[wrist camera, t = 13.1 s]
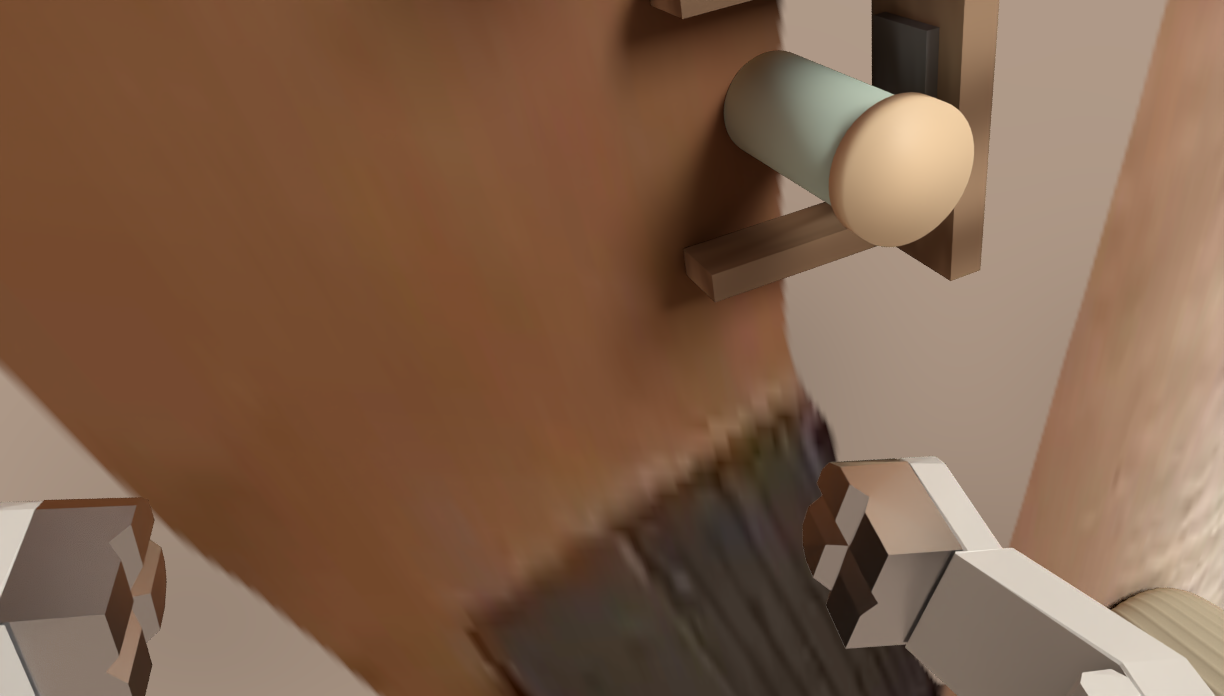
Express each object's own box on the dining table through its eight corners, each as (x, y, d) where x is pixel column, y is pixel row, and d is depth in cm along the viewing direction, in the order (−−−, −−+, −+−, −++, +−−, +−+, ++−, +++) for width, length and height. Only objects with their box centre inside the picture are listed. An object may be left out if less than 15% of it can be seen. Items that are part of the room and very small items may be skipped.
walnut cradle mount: (642, -62, 35) (711, -42, 30) (904, -127, 38) (1007, -119, 33) (689, 294, 44) (748, 354, 39) (899, 222, 46) (980, 270, 41)
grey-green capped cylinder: (709, 59, 38) (842, 123, 30) (821, 27, 40) (978, 81, 31) (721, 177, 41) (845, 265, 33) (825, 144, 43) (969, 221, 34)
